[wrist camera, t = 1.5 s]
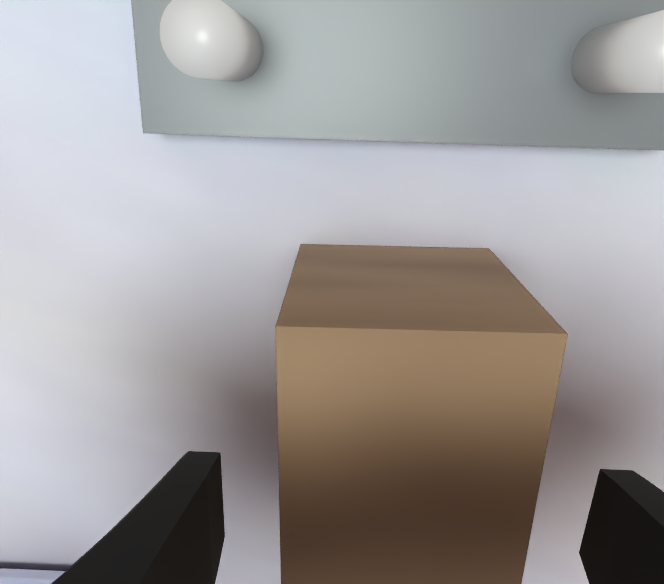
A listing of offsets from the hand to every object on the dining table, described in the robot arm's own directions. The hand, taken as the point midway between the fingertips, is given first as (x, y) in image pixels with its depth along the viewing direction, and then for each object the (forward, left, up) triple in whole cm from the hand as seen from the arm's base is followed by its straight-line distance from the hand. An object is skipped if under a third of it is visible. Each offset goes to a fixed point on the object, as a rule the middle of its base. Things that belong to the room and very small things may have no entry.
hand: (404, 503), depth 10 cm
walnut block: (0, 0, -4) cm, 4 cm away
